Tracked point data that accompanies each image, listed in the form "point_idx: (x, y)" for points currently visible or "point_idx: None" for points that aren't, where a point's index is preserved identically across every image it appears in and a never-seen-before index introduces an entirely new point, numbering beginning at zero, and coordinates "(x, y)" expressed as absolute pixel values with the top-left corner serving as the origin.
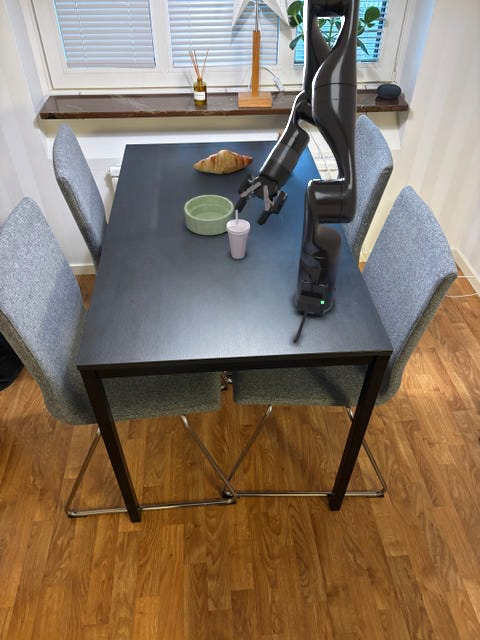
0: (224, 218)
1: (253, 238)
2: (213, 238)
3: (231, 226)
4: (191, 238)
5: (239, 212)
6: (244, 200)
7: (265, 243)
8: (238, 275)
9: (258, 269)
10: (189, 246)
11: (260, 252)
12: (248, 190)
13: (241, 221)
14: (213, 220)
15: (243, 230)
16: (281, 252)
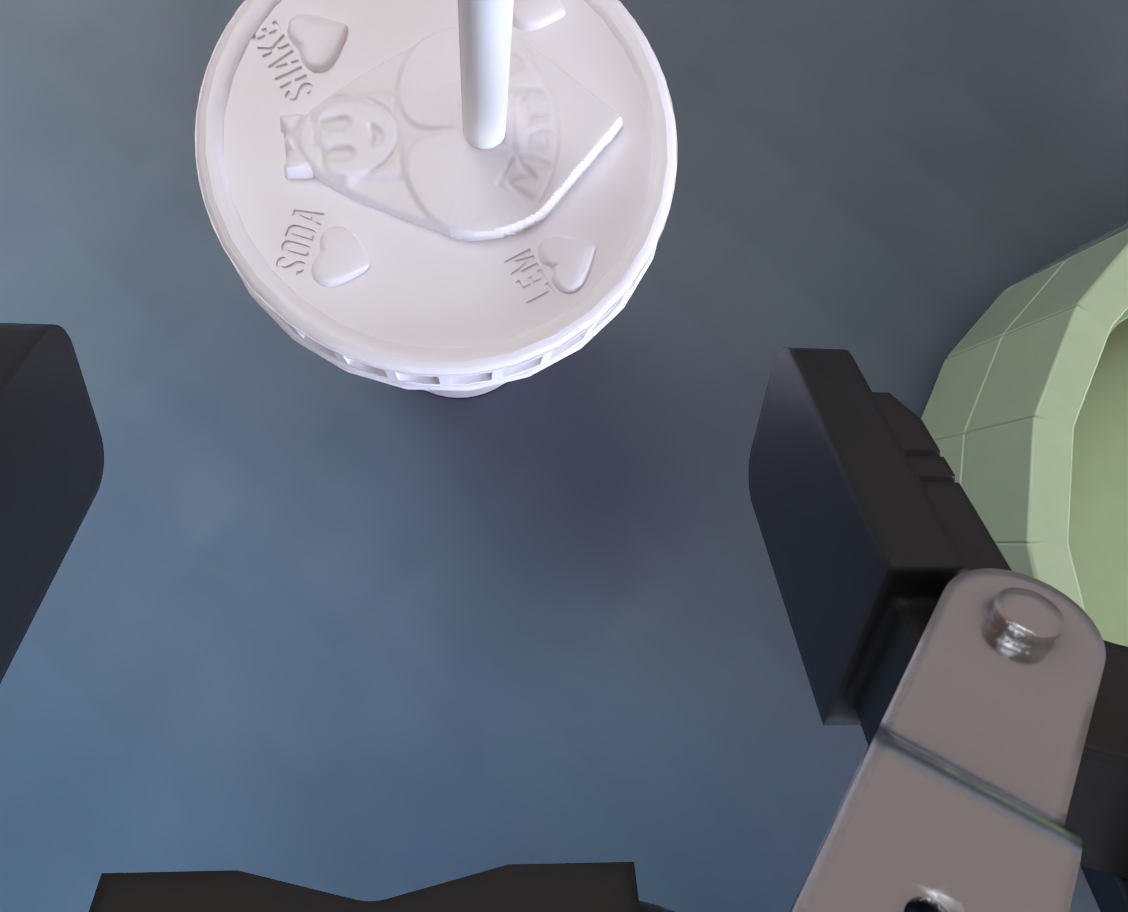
0: (1018, 498)
1: (581, 707)
2: (904, 346)
3: (515, 27)
4: (1062, 169)
5: (754, 455)
6: (856, 627)
7: (395, 743)
8: (173, 52)
9: (79, 289)
10: (955, 52)
11: (303, 554)
12: (962, 816)
13: (509, 293)
14: (1072, 321)
15: (236, 84)
16: (106, 755)
